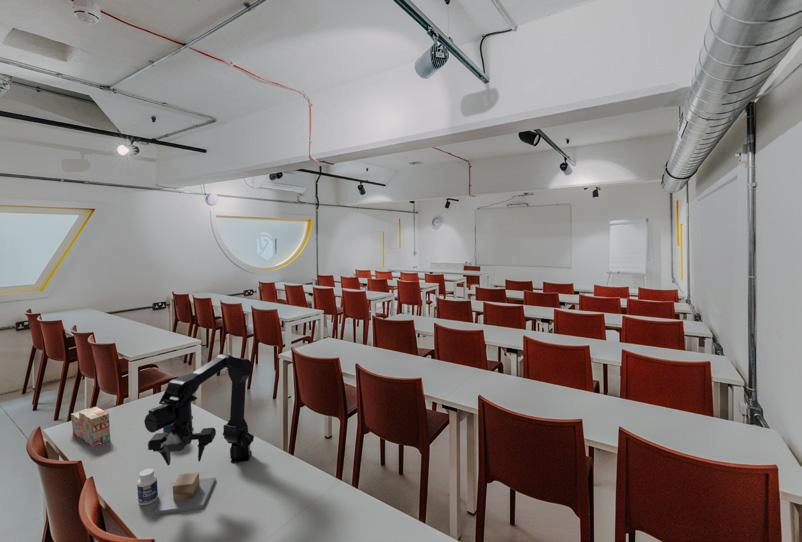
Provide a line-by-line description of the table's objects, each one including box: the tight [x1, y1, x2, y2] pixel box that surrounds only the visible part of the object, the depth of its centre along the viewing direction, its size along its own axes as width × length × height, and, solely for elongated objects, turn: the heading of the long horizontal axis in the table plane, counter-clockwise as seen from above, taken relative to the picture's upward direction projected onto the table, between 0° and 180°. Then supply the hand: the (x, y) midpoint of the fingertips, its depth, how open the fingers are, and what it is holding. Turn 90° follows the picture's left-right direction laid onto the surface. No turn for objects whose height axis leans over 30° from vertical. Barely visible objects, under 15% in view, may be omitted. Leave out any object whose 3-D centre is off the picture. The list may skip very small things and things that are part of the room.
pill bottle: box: [136, 468, 159, 506], centre depth 122 cm, size 5×5×10 cm
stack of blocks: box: [70, 406, 111, 447], centre depth 162 cm, size 21×6×12 cm, turn 59°
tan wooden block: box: [173, 472, 200, 501], centre depth 124 cm, size 6×6×5 cm
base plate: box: [153, 477, 217, 516], centre depth 124 cm, size 14×14×1 cm
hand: (184, 462), depth 123 cm, fingers open, 9 cm apart
